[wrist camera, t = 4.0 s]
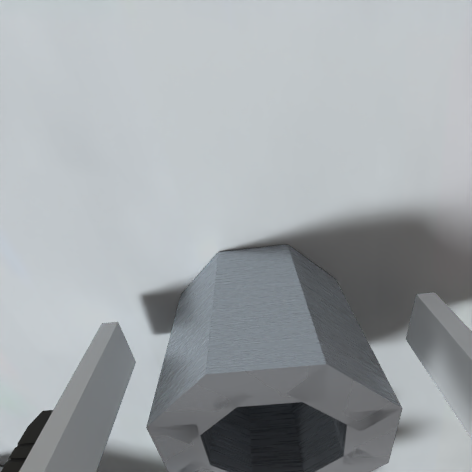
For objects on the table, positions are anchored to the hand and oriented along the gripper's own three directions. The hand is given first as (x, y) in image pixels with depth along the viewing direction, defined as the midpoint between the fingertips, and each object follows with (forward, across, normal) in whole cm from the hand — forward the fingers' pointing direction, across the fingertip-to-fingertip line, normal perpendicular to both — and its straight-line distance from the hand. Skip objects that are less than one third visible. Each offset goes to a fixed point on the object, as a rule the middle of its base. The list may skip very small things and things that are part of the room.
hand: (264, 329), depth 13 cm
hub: (+1, 0, 0) cm, 1 cm away
